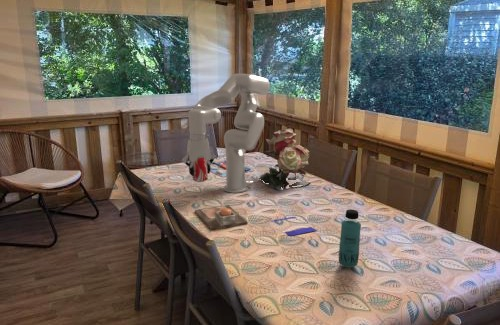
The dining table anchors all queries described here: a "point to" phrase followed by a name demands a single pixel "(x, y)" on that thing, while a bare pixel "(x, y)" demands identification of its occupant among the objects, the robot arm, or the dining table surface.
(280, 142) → the rose bouquet
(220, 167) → the puzzle board
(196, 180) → the soda can
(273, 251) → the dining table surface
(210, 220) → the picture board
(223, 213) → the button
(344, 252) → the beverage bottle
